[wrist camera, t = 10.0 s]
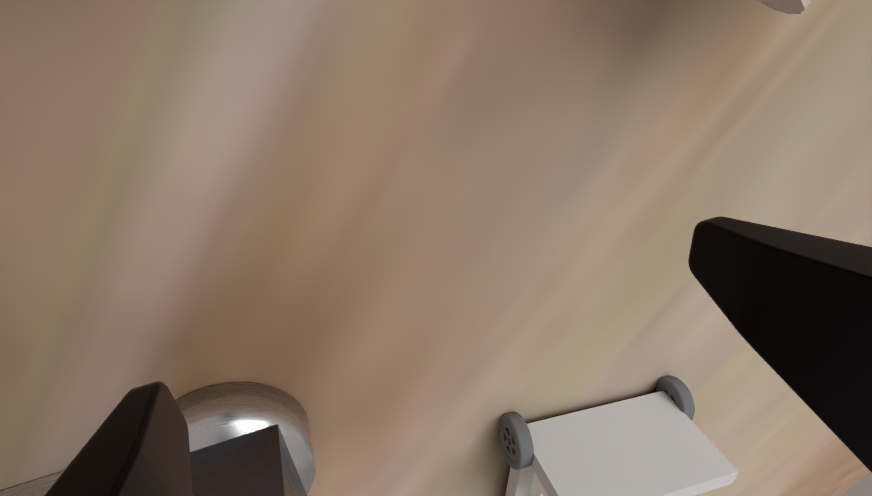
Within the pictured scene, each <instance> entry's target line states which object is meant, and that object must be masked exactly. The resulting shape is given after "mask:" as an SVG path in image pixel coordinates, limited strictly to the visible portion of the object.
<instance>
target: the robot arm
mask: <svg viewBox="0 0 872 496" xmlns="http://www.w3.org/2000/svg"><path fill="white" fill-rule="evenodd" d="M688 262H689V267H690V270H691V272H692V274H693V275H694V276H695V278H696V279H697V280H698V281H699V283H700V284H701V285H702V287H703V288H704V289H705V290H706V292H707V293H708V294H709V295H710V297H711V298H712V299H713V301H714V302H715V303H716V304H717V306H718V307H719V308H720V309H721V311H722V312H723V313H724V314H725V316H726V317H727V318H728V320H729V321H730V322H731V323H732V325H733V326H734V327H735V328H736V330H737V331H738V332H739V333H740V334H741V336H742V337H743V338H744V339H745V340H746V341H747V342H748V343H749V345H750V346H751V347H752V348H753V349H754V350H755V351H756V352H757V353H758V354H759V355H760V356H761V357H762V358H763V359H764V360H765V361H766V363H767V364H768V365H769V366H770V367H771V368H772V369H773V370H774V371H775V372H776V373H777V374H778V375H779V376H780V377H781V378H782V379H783V380H784V381H785V382H786V383H787V384H788V386H789V387H790V388H791V389H792V390H793V391H794V392H795V393H796V394H797V395H798V396H799V397H800V398H801V399H802V400H803V401H804V402H805V403H806V404H807V405H808V406H809V407H810V409H811V410H812V411H813V412H814V413H815V414H816V415H817V416H818V417H819V418H820V419H821V420H822V421H823V422H824V423H825V424H826V425H827V426H828V427H829V428H830V429H831V430H832V432H833V433H834V434H835V435H836V436H837V437H838V438H839V439H840V440H841V441H842V442H843V443H844V444H845V445H846V446H847V447H848V448H849V449H850V450H851V451H852V452H853V453H854V455H855V456H856V457H857V458H858V459H859V460H860V461H861V462H862V463H863V464H864V465H865V466H866V467H867V468H868V469H869V470H870V471H871V472H872V247H868V246H863V245H858V244H854V243H849V242H844V241H839V240H834V239H829V238H824V237H819V236H815V235H810V234H805V233H800V232H795V231H790V230H785V229H780V228H776V227H771V226H766V225H761V224H756V223H751V222H746V221H741V220H736V219H732V218H727V217H714V218H711V219H707V220H704V221H701V222H699V223H698V224H697V225H696V227H695V229H694V233H693V238H692V243H691V249H690V254H689V260H688ZM44 496H193V494H192V478H191V462H190V447H189V432H188V427H187V423H186V420H185V418H184V416H183V414H182V412H181V410H180V408H179V407H178V405H177V403H176V401H175V399H174V398H173V396H172V394H171V392H170V390H169V389H168V387H167V386H166V385H165V384H164V383H163V382H159V381H157V382H153V383H150V384H146V385H143V386H140V387H136V388H134V389H132V390H130V391H129V392H128V393H127V394H126V395H125V397H124V398H123V399H122V400H121V402H120V403H119V404H118V405H117V406H116V408H115V409H114V410H113V411H112V413H111V414H110V415H109V416H108V418H107V419H106V420H105V421H104V422H103V424H102V425H101V426H100V427H99V429H98V430H97V431H96V432H95V434H94V435H93V436H92V437H91V438H90V440H89V441H88V442H87V443H86V445H85V446H84V447H83V448H82V450H81V451H80V452H79V453H78V454H77V456H76V457H75V458H74V459H73V461H72V462H71V463H70V464H69V466H68V467H67V468H66V469H65V470H64V472H63V473H62V474H61V475H60V477H59V478H58V479H57V480H56V482H55V483H54V484H53V485H52V486H51V488H50V489H49V490H48V491H47V493H46V494H45V495H44Z"/></svg>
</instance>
